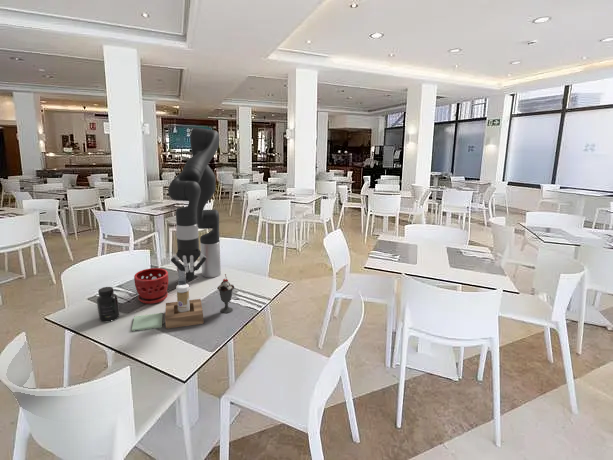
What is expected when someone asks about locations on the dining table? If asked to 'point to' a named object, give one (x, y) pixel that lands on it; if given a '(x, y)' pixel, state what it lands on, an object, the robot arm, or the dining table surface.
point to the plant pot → (151, 285)
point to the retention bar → (181, 278)
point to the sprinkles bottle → (183, 298)
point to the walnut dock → (183, 314)
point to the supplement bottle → (107, 304)
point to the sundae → (226, 294)
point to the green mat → (147, 321)
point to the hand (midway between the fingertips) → (190, 280)
